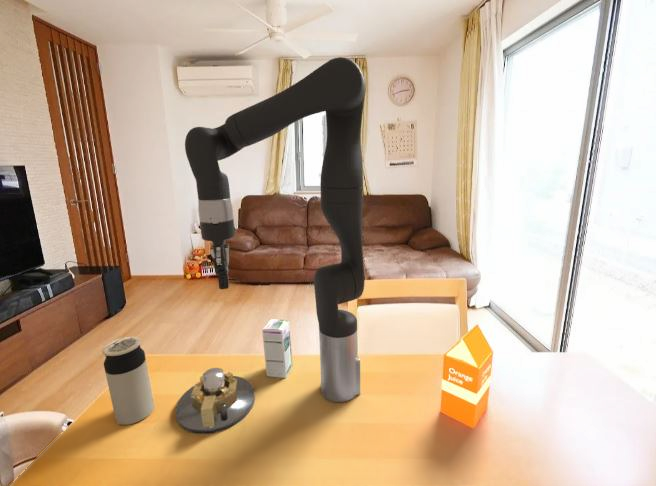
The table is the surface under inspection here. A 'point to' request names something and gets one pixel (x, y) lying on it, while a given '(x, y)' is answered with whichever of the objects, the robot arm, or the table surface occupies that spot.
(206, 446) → the table surface
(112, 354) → the travel mug
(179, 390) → the table surface
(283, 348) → the syrup box
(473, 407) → the orange juice
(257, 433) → the table surface
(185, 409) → the cap plate
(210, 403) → the ring nut
